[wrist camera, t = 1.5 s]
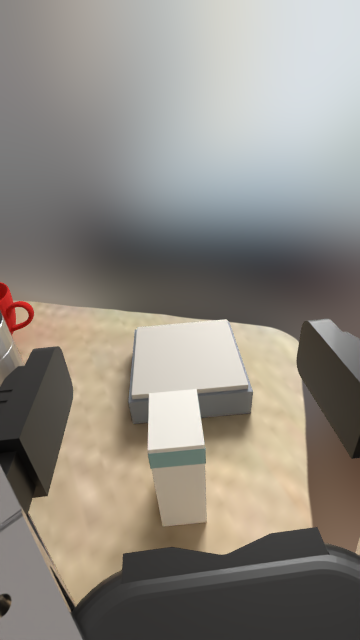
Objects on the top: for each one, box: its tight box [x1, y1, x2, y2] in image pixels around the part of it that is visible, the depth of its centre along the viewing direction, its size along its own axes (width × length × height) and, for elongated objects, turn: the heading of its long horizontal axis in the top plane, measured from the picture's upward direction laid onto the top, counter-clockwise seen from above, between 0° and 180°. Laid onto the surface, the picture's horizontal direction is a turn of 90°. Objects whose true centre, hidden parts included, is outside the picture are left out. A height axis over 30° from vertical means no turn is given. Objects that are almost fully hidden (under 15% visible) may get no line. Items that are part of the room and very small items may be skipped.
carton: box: [148, 389, 207, 526], centre depth 31 cm, size 5×6×13 cm
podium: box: [128, 320, 253, 424], centre depth 49 cm, size 16×16×5 cm
